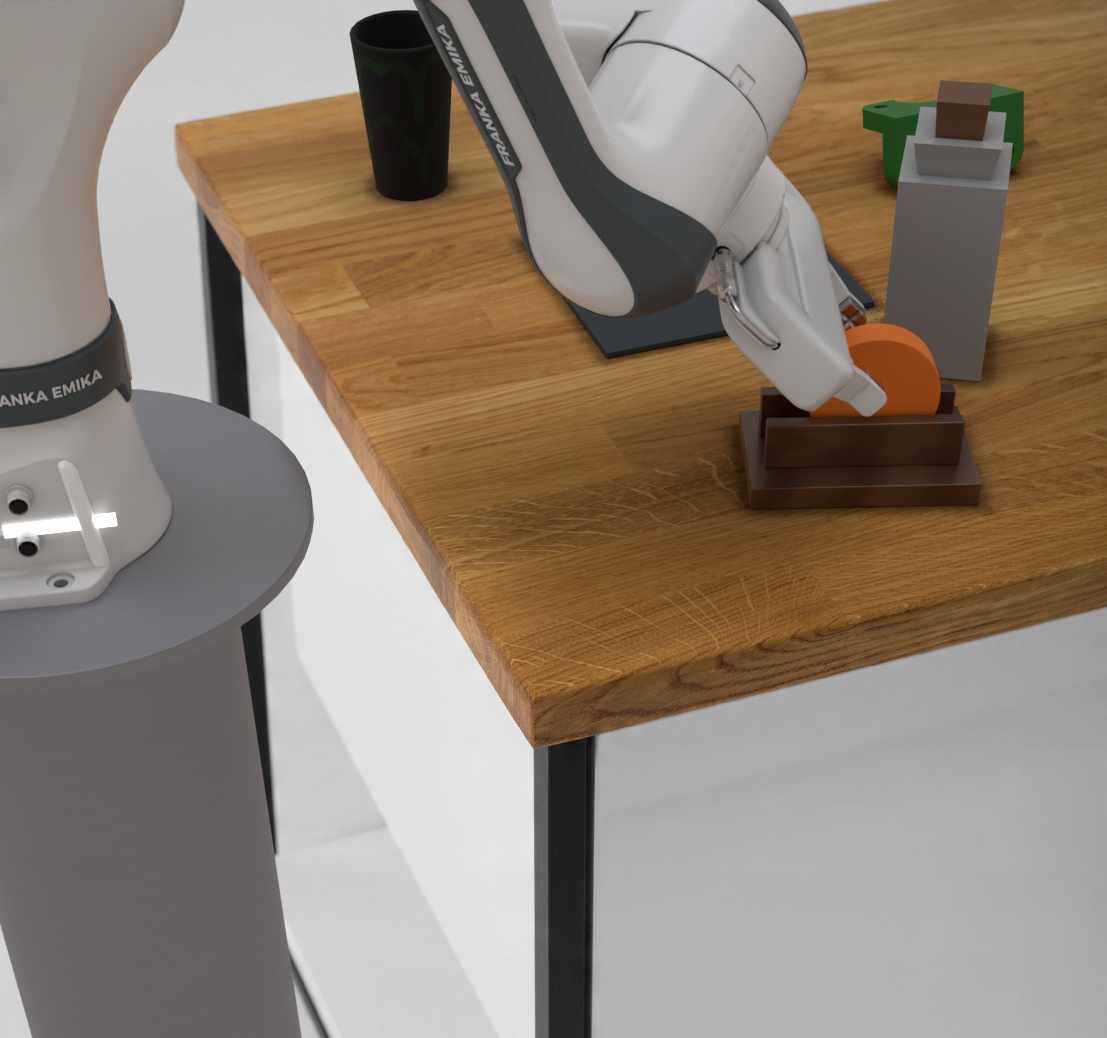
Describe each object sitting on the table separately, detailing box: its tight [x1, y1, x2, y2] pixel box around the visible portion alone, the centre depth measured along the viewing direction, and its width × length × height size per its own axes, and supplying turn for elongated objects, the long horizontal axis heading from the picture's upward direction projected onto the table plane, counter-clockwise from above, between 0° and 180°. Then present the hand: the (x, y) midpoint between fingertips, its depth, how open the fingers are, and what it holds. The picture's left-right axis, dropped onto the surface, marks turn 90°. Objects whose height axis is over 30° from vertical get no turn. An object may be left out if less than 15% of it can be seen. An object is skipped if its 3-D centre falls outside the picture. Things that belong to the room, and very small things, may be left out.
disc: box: [810, 322, 941, 417], centre depth 126 cm, size 8×2×8 cm, turn 91°
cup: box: [348, 9, 453, 201], centre depth 155 cm, size 8×8×12 cm
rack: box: [738, 382, 982, 510], centre depth 128 cm, size 14×9×4 cm, turn 91°
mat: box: [564, 250, 876, 359], centre depth 148 cm, size 20×18×1 cm
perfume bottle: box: [883, 79, 1013, 382], centre depth 134 cm, size 7×7×18 cm
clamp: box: [862, 82, 1025, 188], centre depth 158 cm, size 12×6×9 cm, turn 107°
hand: (867, 362), depth 124 cm, fingers open, 8 cm apart
